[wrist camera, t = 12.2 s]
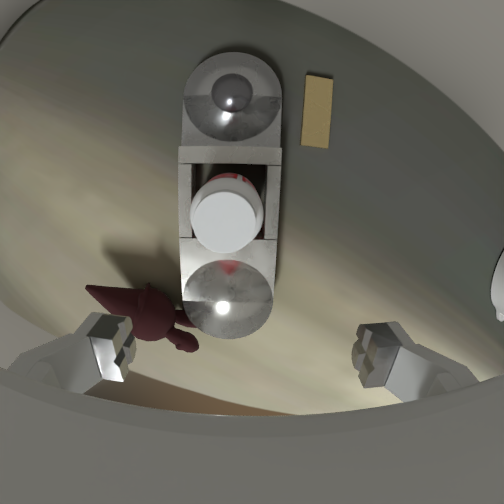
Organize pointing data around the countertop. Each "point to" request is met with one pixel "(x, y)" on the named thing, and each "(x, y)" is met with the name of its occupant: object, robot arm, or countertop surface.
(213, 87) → the flat tray with frame
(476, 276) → the countertop surface
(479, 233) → the countertop surface
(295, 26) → the countertop surface
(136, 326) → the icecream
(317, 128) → the link plate
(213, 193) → the pill bottle
